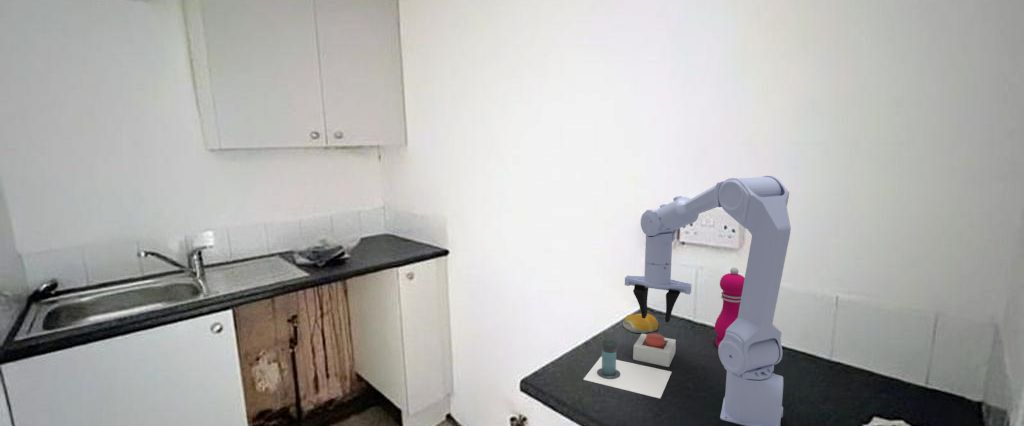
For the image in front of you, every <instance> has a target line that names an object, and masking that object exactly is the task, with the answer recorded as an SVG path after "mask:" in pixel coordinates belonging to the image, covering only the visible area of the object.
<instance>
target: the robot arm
mask: <svg viewBox="0 0 1024 426" xmlns="http://www.w3.org/2000/svg"><path fill="white" fill-rule="evenodd" d="M789 197H790V191H789V190H788V188H786V186H785V185H784V184H783V182H782V181H781V180H780V179H779V178H777V177H776V176H773V175H764V176H758V177H757V176H756V177H755V176H754V177H742V178H741V177H739V178H738V177H730V178H727V179H725V180H723V181H720V182H719V181H718V182H717V183H716V185H714V186H712V187H710V188H708V189H706V190H705V191H702V192H701V193H700V194H699V193H698V194H697V195H695V196H693V197H692V198H690V197H687V196H674V197H673V198H672V200H673V201H671V202H669V203H667V204H665V203H664V204H660V205H659V208H657V209H654V210H653V209H646V210H645V211H644V212H643V213H642V215H641V217H640V227H641V230H642V232H643V234H645V248H644V252H645V253H644V255H645V256H644V276H643V275H642V276H641V275H626V276H625V277H624V286H627V287H629V286H632V287H633V286H634V287H633V292H632V293H633V295H634V297H635V298H636V300H637V303H638V306H639V310H640V314H642V318H644V319H645V318H646V316H647V314H648V297H649V289H655V290H660V291H661V290H662V291H667V292H666V293H665V307H666V308H665V316H664V317H665V318H664V319H665V321H664V322H665V323H670V320H671V316H672V312H673V310H674V306H675V304H676V302H677V300H678V298H679V297H680V295H681V293H682V294H685V295H690V294H691V293H692V286H693V285H692V283H688V282H683V281H679V280H674V279H671V278H672V277H671V276H672V258H673V257H672V254H673V248H672V247H673V242H674V241H675V239H676V237H675V236H676V233H677V231H678V230H679V229H681V228H684V227H685V226H689V225H691V224H693V223H695V222H696V221H697V220H698V219H699V215H700V214H702V213H704V212H708V211H710V210H713V209H716V208H721V209H723V211H724V212H725V213H726V214H728V215H729V216H730V217H731V218H733V220H735V221H736V222H737V223H738V224H739V225H740V226H742V227H743V228H744V229H747V231H748V232H749V233H750V234H751V240H750V246H749V250H748V257H747V264H746V270H745V273H744V278H745V279H744V285H743V291H742V296H741V302H740V308H739V313H738V318H737V319H736V320H735V321H734V322H733V323H732V324H731V325H730V326H729V327H728V328H727V329H726V333H725V337H724V339H723V340H722V341H721V342H720V344H719V348H718V347H717V348H718V349H717V353H718V358H719V360H720V362H721V364H722V366H723V369H725V370H726V379H725V380H726V381H725V394H724V397H723V401H722V404H721V405H722V407H721V411H720V416H719V418H720V420H721V421H726V422H730V423H733V424H737V425H741V426H781V419H782V418H783V417H784V406H783V397H784V396H783V395H784V394H783V393H784V377H783V375H779V374H776V373H774V370H775V365H777V364H780V362H781V360H782V358H783V352H784V351H783V347H782V343H781V342H782V341H781V339H782V332H781V330H780V329H779V328H778V327H777V326H776V325H775V324H774V323H773V322H774V317H775V313H776V308H777V302H778V297H779V291H780V288H781V282H782V277H783V271H784V268H785V263H786V262H785V261H786V257H787V251H788V246H789V241H790V236H791V229H792V228H791V222H790V218H789V211H788V203H789Z"/></svg>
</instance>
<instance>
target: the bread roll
mask: <svg viewBox="0 0 1024 426" xmlns="http://www.w3.org/2000/svg"><path fill="white" fill-rule="evenodd" d="M622 325H623V328H624V329H626V330H627V331H628V332H630V333H634V334H649V333H653V332H656V331H657V330H658V328H659V322H658V320H657V318H656V317H655V316H654V315H652V314H650V313H647V316H646V318H645V319H644V318H642V314H641V313H636V314H628V315H626V316H625V317H624V319H623V322H622Z"/></svg>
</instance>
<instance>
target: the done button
mask: <svg viewBox="0 0 1024 426" xmlns="http://www.w3.org/2000/svg"><path fill="white" fill-rule="evenodd" d="M646 334H647V335H646V346H650V347H655V348H660V349H664V338H665V336H663V335H662V334H660V333H656V332H655V333H653V332H649V333H646Z"/></svg>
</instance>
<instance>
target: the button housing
mask: <svg viewBox="0 0 1024 426" xmlns="http://www.w3.org/2000/svg"><path fill="white" fill-rule="evenodd" d="M647 334H648V333H640V336H639V337H638V339H637V340H636V342H635V343H634V344H633V349H632V350H633V351H632V352H633V353H632V354H633V355H632V359H633V360H635V361H640V362H643V363H648V364H653V365H658V366H662V367H667V368H670V365H671V363H672V361H673V359H674V357H675V355H676V346H677V345H676V343H677V340H676V339H673V338H669V337H664V349H660V348H655V347H650V346H646V335H647Z"/></svg>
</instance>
